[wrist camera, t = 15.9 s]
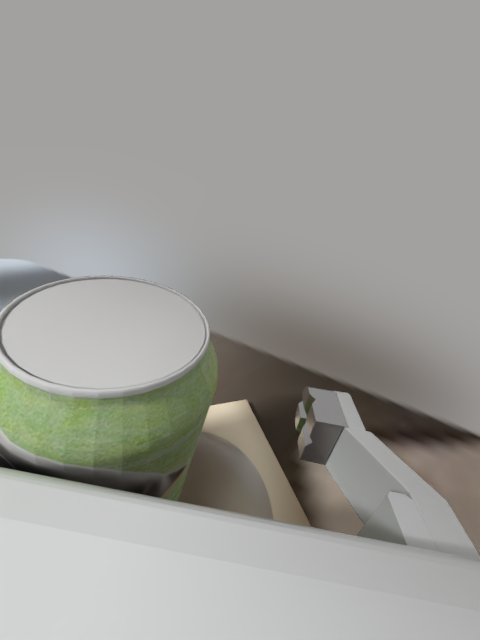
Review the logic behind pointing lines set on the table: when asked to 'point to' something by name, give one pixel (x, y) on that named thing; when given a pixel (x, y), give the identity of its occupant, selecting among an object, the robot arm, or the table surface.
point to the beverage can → (105, 383)
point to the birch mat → (239, 468)
